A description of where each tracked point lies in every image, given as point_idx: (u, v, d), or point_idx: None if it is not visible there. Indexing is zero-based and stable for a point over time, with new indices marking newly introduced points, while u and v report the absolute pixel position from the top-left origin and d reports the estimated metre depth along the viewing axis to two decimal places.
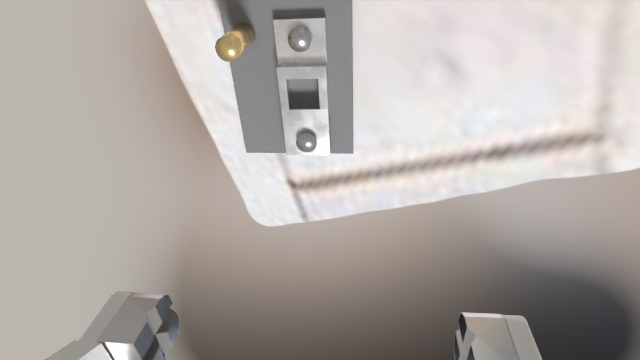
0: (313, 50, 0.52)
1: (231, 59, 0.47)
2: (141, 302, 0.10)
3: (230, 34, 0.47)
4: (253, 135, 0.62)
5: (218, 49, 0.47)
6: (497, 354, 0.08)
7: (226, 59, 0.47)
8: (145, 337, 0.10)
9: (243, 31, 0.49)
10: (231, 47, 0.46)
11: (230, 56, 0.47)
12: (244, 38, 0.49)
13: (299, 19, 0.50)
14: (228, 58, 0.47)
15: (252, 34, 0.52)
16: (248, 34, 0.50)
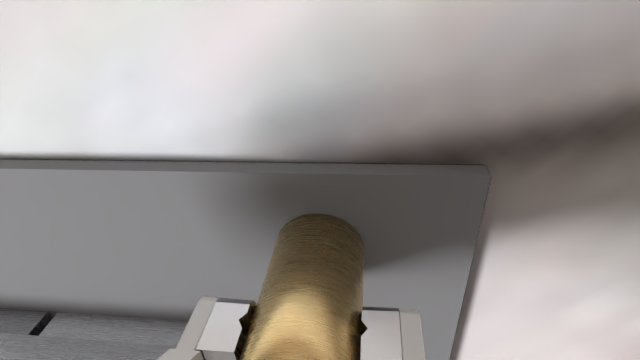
0: None
1: None
2: (231, 308, 0.10)
3: None
4: None
5: None
6: (383, 345, 0.09)
7: None
8: (241, 344, 0.09)
9: None
10: None
11: None
12: None
13: None
14: None
15: None
16: None
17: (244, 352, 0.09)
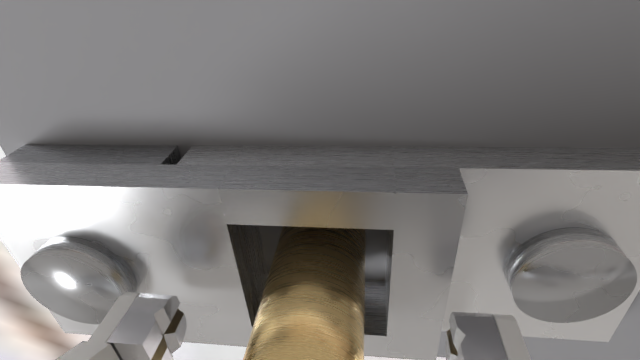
0: (493, 301, 0.13)
1: None
2: (149, 302, 0.10)
3: None
4: None
5: None
6: (486, 353, 0.08)
7: None
8: (154, 338, 0.10)
9: None
10: None
11: None
12: None
13: None
14: None
15: None
16: None
17: (256, 326, 0.09)
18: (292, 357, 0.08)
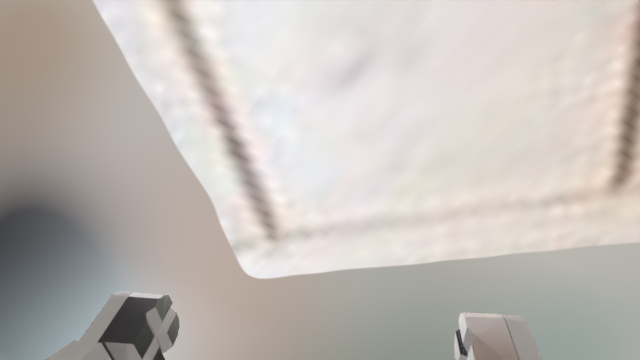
0: None
1: None
2: (141, 302, 0.10)
3: None
4: None
5: None
6: (498, 354, 0.08)
7: None
8: (145, 337, 0.10)
9: None
10: None
11: None
12: None
13: None
14: None
15: None
16: None
17: None
18: None
